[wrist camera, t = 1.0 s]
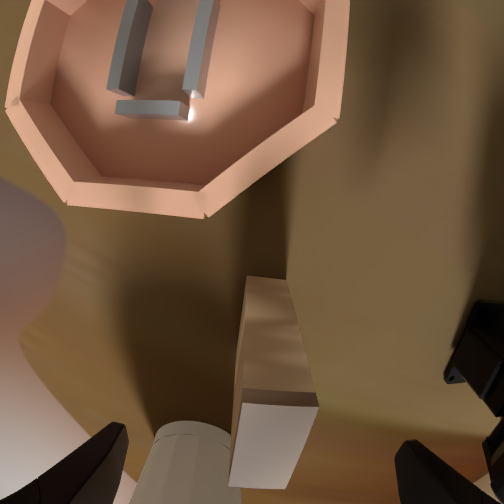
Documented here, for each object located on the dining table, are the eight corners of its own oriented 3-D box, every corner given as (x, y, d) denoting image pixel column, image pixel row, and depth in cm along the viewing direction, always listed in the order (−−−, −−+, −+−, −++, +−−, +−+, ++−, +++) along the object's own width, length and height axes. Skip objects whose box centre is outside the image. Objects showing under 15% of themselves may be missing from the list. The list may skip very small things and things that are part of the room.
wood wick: (286, 279, 16) (319, 406, 7) (272, 352, 17) (285, 489, 9) (246, 275, 16) (242, 402, 7) (236, 349, 17) (228, 486, 9)
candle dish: (336, -41, 11) (351, -71, 8) (307, 218, 15) (321, 234, 12) (82, -40, 10) (59, -62, 7) (34, 190, 14) (-1, 199, 11)
